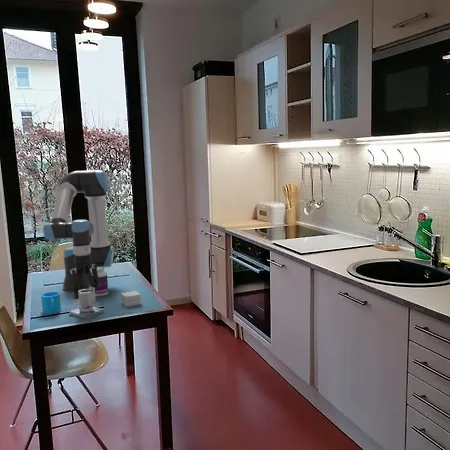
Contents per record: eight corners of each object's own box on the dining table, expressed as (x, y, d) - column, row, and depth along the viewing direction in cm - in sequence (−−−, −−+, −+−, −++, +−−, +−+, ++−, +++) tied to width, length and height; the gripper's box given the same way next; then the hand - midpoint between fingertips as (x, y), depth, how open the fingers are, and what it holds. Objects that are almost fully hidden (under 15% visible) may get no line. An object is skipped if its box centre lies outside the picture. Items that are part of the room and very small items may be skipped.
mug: (41, 310, 216) (40, 293, 214) (59, 307, 219) (58, 290, 218) (44, 317, 205) (43, 300, 204) (63, 314, 209) (62, 297, 208)
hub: (74, 304, 207) (73, 291, 206) (87, 300, 213) (86, 288, 212) (84, 307, 203) (83, 294, 202) (97, 302, 209) (96, 290, 208)
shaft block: (69, 314, 208) (67, 295, 207) (87, 308, 216) (85, 290, 215) (86, 319, 201) (84, 299, 200) (104, 312, 209) (102, 293, 208)
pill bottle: (111, 293, 239) (109, 267, 237) (100, 297, 232) (99, 270, 230) (100, 291, 243) (98, 265, 241) (89, 296, 236) (87, 269, 234)
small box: (136, 300, 227) (136, 290, 226) (141, 304, 220) (140, 294, 220) (121, 303, 224) (120, 292, 223) (125, 307, 217) (125, 297, 216)
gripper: (68, 259, 194) (72, 310, 198) (105, 250, 211) (108, 298, 214) (58, 257, 199) (62, 307, 202) (94, 249, 215) (98, 296, 218)
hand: (86, 303), depth 208 cm, fingers closed on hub, 7 cm apart
